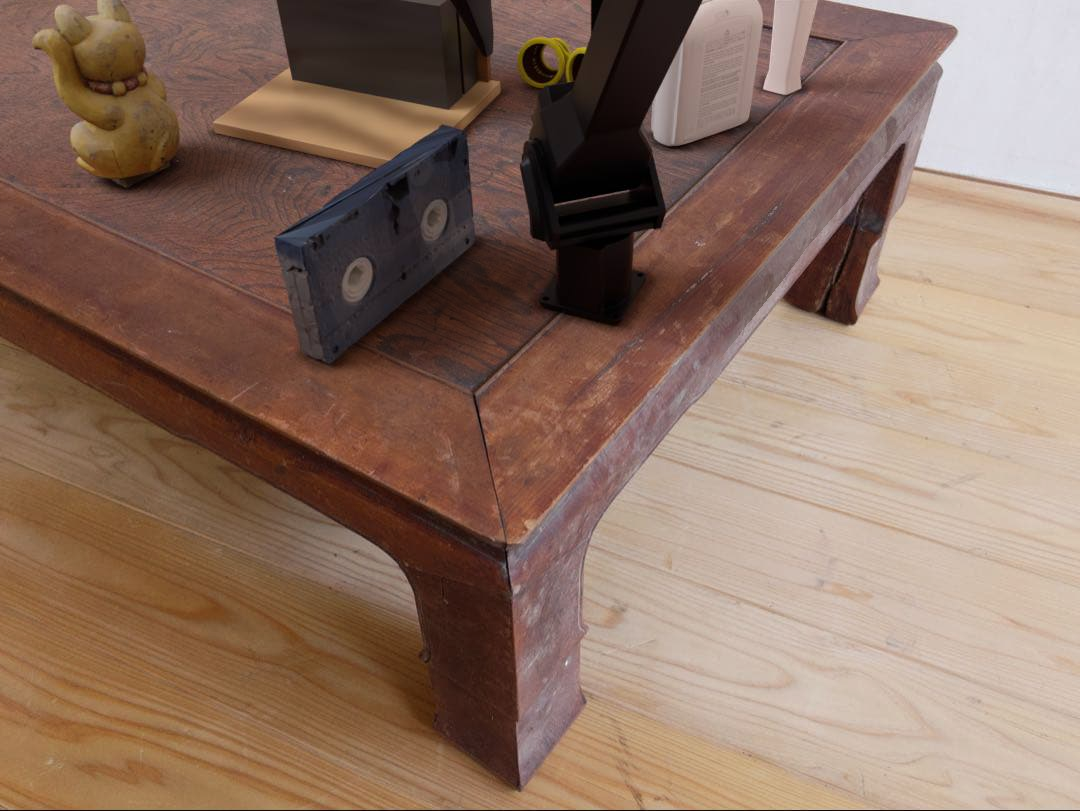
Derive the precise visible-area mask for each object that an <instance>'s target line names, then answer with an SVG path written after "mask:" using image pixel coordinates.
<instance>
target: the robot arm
mask: <svg viewBox="0 0 1080 811" xmlns="http://www.w3.org/2000/svg"><path fill="white" fill-rule="evenodd" d="M450 1H451V3H452V4H453V5H454V7H455V9H456V10H457V12H458V13H459V15H460V17H461V19H462V20H463V22H464V24H465V26H466V27H467V29H468V31H469V33H470V35H471V36H472V38H473V40H474V42H475V44H476V45H477V47H478V49H479V51H480V53H481V54H482V56H483V57H489V56H490V57H491V55H493V52H494V39H495V38H494V33H495V32H494V19H493V7H492V0H450ZM702 1H703V0H590V37H589V39H588V42H587V46H586V51H585V54H584V57H583V60H582V63H581V66H580V69H579V72H578V75H577V77H576V80H575V81H571V82H567V81H566V82H561V83H556V84H553V85H547V86H544V88H541V90H540V92H539V93H538V94H537V100H536V106H535V110H534V112H533V114H531V115H530V121H531V123H532V126H531V128H530V130H529V134H528V140H525V141H524V143H523V147H522V148H523V149H522V153H521V162H520V164H519V171H520V176H521V180H522V185H523V189H524V190H523V191H524V195H525V200H526V204H527V210H528V217H529V235H530V237H531V238H532V239H534V240H537V241H540V242H542V243H544V242H545V244H546V246H547V248H548V249H549V251H555V275H554V276H553V278H552V279H551V281H550V282H549V284H548V285H547V287H546V288H545V289H544V291H543V292H542V293H541V295H540V296H539V300H538V302H539V305H540V306H541V307H543V308H546V309H550V310H555V311H558V312H563V313H567V314H570V315H573V316H578V317H582V318H587V319H590V320H595V321H598V322H602V323H605V324H609V325H620V324H621V323H622V322H623V320H624V318H625V316H626V315H627V313H628V311H629V310H630V308H631V306H632V305H633V303H634V302H635V300H636V298H637V296H638V295H639V293H640V292H641V290H642V288H643V286H644V285H645V283H646V281H647V273H646V272H644V271H641V270H637V269H633V264H634V249H635V248H634V246H635V233H639V232H644V231H649V230H658V229H662V227H663V224H664V220H665V217H666V214H667V207H666V203H665V198H664V195H663V190H662V186H661V183H660V179H659V174H658V170H657V167H656V163H655V158H654V154H653V153H654V151H653V148H652V145H651V142H650V138H649V135H648V132H647V129H646V126H645V124H644V121H645V119H646V116H647V114H648V112H649V111H650V108H651V106H652V105H653V100H654V98H655V96H656V94H657V92H658V90H659V88H660V86H661V84H662V82H663V80H664V78H665V76H666V74H667V72H668V70H669V68H670V66H671V64H672V62H673V60H674V58H675V56H676V54H677V52H678V50H679V48H680V46H681V44H682V42H683V40H684V38H685V36H686V33H687V31H688V29H689V27H690V25H691V23H692V21H693V19H694V17H695V15H696V13H697V11H698V9H699V7H700V5H701V3H702Z"/></svg>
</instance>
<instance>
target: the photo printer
mask: <svg viewBox="0 0 1080 811" xmlns="http://www.w3.org/2000/svg"><path fill="white" fill-rule="evenodd" d="M763 15H764V14H763V9H762V6H761V4H760V2H759V0H703V1H702V3H701V5H700V7H699V9H698V11H697V13H696V15H695V17H694V19H693V21H692V23H691V25H690V27H689V29H688V31H687V33H686V36H685V38H684V40H683V42H682V44H681V46H680V48H679V50H678V52H677V54H676V56H675V58H674V60H673V62H672V64H671V66H670V68H669V70H668V72H667V74H666V76H665V78H664V80H663V82H662V84H661V86H660V88H659V90H658V92H657V94H656V96H655V98H654V100H653V102H652V105H651V106H652V107H651V122H650V124H651V125H650V127H651V132H652V133H653V138H654V140H655V141H656V142H658V143H659V144H661V145H663V146H667V147H677V146H683V145H687V144H690V143H692V142H695V141H698V140H701V139H705V138H707V137H710V136H713V135H716V134H719V133H721V132H724V131H728V130H730V129H734V128H737V127H738V126H741V125H743V124H744V123H747V121H748V120H749V118H750V113H751V107H752V102H753V101H752V100H753V93H754V87H755V79H756V72H757V65H758V59H759V52H760V47H761V38H762V32H763V26H764V16H763Z"/></svg>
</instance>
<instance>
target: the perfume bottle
mask: <svg viewBox="0 0 1080 811" xmlns="http://www.w3.org/2000/svg"><path fill="white" fill-rule="evenodd" d="M818 2H819V0H774V8H773V17H772V18H773V19H772V30H771V42H770V43H771V44H770V54H769V67H768V71H767V74H766V77H765V79H764V83H763V88H762V90H764V91H767V92H771V93H775V94H779V95H782V96H787V95H790V94H792V93H794V92H797V91H799V90H801V89H802V82H801V70H802V65H803V61H804V58H805V54H806V50H807V46H808V42H809V38H810V34H811V30H812V26H813V23H814V18H815V14H816V10H817V5H818Z"/></svg>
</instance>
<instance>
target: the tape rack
mask: <svg viewBox="0 0 1080 811" xmlns="http://www.w3.org/2000/svg"><path fill="white" fill-rule="evenodd" d="M276 5H277V10H278V15H279V20H280V25H281V30H282V35H283V41H284V45H285V50H286V55H287V60H288V65H289V67H288V68H286V69H285V70H284V71H282V72H281V73H279V74H278V75H276V76H275V77H273V78H272V79H271V80H270V81H268V82H266V83H265V84H264V85H263V86H261V87H260V88H258V89H257V90H255V91H254V92H253V93H251V94H250V95H248V96H247V97H246V98H244V99H243V100H241V101H240V102H238V103H237V104H236V105H234V106H233V107H231V108H230V109H229V110H227V111H226V112H224V113H223V114H222V115H220V116H219V117H218V118H216V119H214V120H213V121H212V125H213V129H214V132H215V134H218V135H222V136H227V137H232V138H237V139H241V140H246V141H250V142H254V143H258V144H263V145H268V146H273V147H277V148H281V149H282V148H283V149H287V150H291V151H295V152H300V153H305V154H309V155H313V156H317V157H323V158H326V159H333V160H335V161H336V160H337V161H342V162H345V163H350V164H356V165H360V166H364V167H368V168H372V169H373V168H374V169H376V168H378V167H380V166H381V165H383V164H385V163H386V162H388V161H390V160H391V159H393V158H394V157H395V156H396V155H398V154H399V153H400V152H402V151H403V150H405V149H407V148H409V147H410V146H412V145H413V144H414V143H416V142H417V141H419V140H420V139H422V138H423V137H425V136H427V135H428V134H430V133H432V132H433V131H435V130H437V129H438V128H439V126H441V125H442V124H443V125H447V126H452V127H454V128H457V129H460V130H463V131H464V129H465V128H467V126H468V125H470V124H471V122H473V121H474V120H475V119H476V118H477V116H479V115H480V114H481V113H482V111H484V109H486V107H488V106H489V105H490V104H491V103H492V102H493V101H494V100H495V99H496V98H497V97H498V96H499V95H500V94H501V92H502V90H501V81H499V80H493V79H492V69H491V68H492V67H491V55H490V56H489V57H483V56H482V54H481V53H480V51H479V49H478V47H477V45H476V44H475V42H474V40H473V38H472V36H471V35H470V33H469V31H468V29H467V27H466V26H465V24H464V22H463V20H462V19H461V17H460V15H459V13H458V12H457V10H456V9H455V7H454V5H453V4H452V3H451V1H450V0H276Z"/></svg>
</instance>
